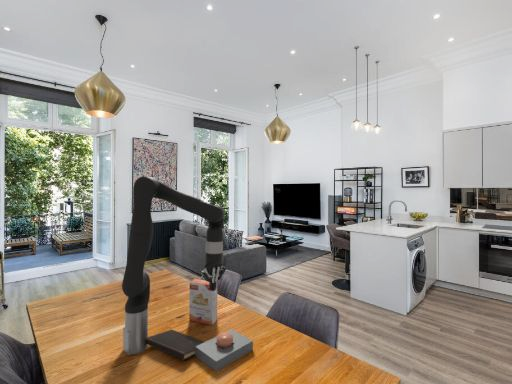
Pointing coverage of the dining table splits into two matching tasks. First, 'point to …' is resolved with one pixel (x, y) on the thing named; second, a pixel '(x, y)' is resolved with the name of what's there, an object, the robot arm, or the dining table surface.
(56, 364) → the dining table surface
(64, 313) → the dining table surface
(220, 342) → the knob
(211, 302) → the cracker box
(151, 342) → the hardcover book
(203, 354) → the mount
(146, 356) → the dining table surface
